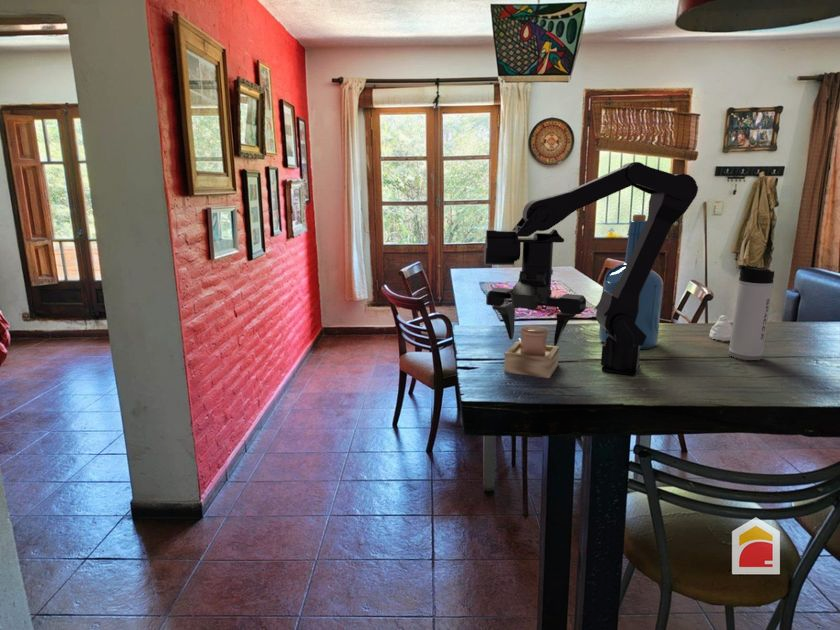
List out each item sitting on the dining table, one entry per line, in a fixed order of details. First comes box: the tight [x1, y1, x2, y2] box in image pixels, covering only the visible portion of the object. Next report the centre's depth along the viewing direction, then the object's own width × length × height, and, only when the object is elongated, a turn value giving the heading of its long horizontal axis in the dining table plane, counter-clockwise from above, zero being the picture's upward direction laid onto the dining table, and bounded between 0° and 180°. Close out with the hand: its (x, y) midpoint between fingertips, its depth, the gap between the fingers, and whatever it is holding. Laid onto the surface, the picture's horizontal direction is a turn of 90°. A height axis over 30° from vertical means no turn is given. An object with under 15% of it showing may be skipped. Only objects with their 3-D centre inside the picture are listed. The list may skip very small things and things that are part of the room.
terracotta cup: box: [520, 325, 549, 356], centre depth 108 cm, size 5×5×5 cm
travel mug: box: [728, 264, 775, 361], centre depth 114 cm, size 6×7×20 cm
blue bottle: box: [598, 214, 664, 350], centre depth 124 cm, size 14×13×30 cm
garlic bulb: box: [708, 315, 733, 341], centre depth 130 cm, size 6×6×5 cm
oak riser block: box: [503, 341, 560, 379], centre depth 109 cm, size 9×9×4 cm
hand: (533, 342), depth 108 cm, fingers open, 9 cm apart
